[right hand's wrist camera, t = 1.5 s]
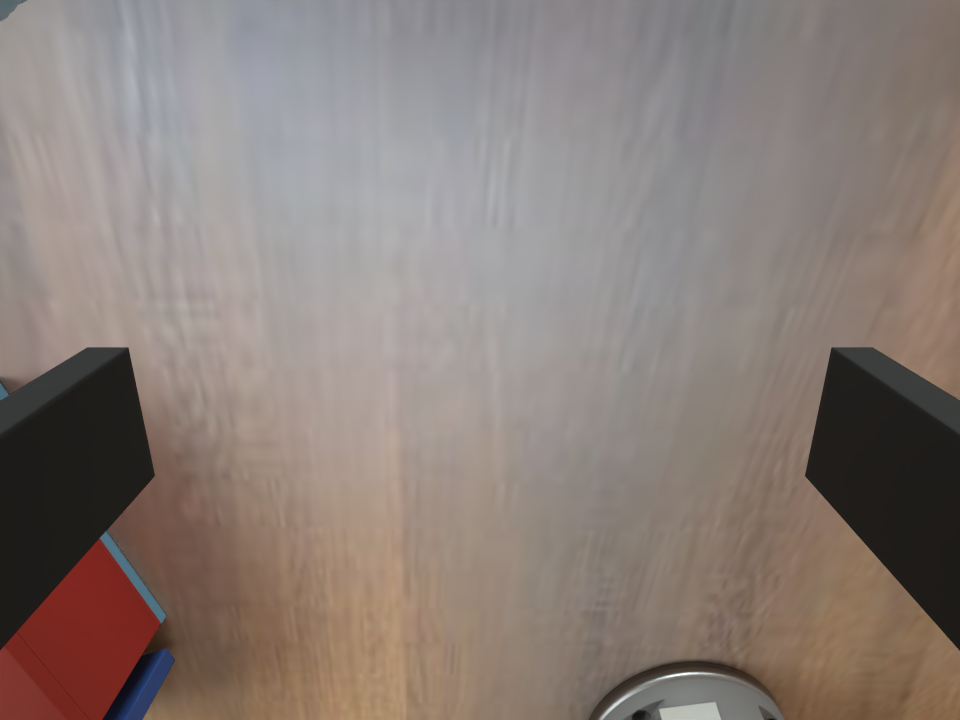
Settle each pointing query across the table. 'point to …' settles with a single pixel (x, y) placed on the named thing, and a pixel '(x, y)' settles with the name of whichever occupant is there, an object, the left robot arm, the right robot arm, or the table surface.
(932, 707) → the table surface
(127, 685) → the drawer
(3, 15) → the left robot arm
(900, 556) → the right robot arm
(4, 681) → the cabinet
